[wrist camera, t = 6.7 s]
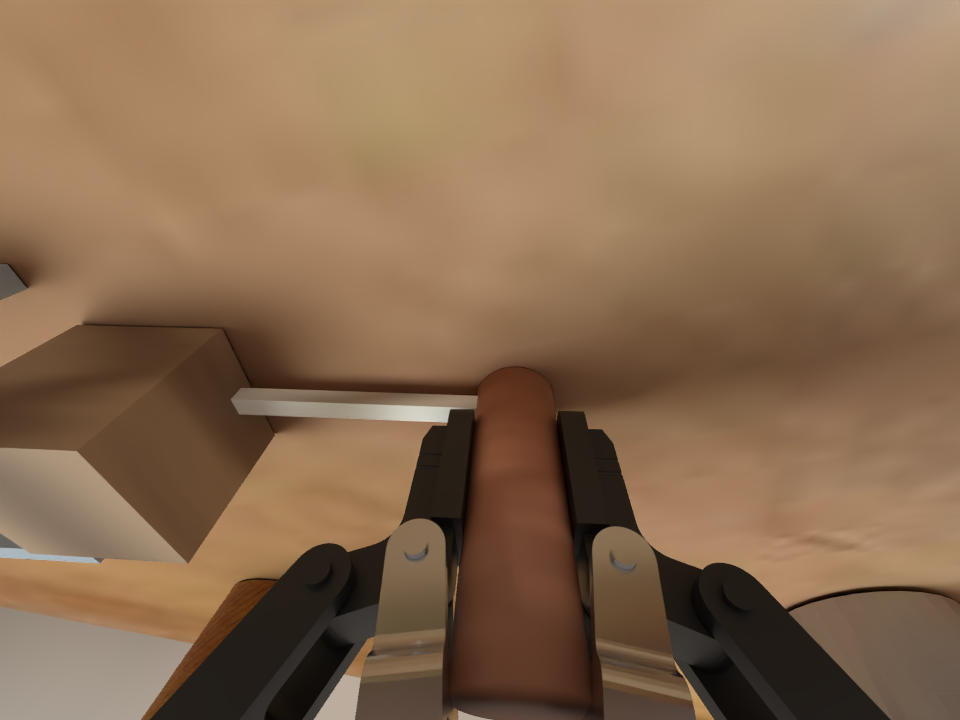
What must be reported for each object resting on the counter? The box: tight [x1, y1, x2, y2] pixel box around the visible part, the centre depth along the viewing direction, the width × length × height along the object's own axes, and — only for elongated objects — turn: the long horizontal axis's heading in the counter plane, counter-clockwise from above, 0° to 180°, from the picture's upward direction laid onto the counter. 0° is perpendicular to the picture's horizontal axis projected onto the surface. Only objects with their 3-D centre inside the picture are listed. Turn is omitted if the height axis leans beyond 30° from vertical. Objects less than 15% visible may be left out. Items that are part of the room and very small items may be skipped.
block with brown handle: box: [0, 325, 592, 720], centre depth 10 cm, size 16×5×8 cm, turn 91°
